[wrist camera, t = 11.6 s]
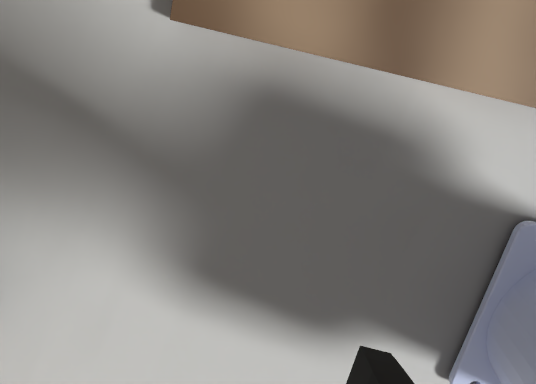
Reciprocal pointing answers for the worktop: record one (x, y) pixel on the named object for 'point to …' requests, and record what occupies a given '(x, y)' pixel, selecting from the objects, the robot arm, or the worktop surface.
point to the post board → (395, 37)
